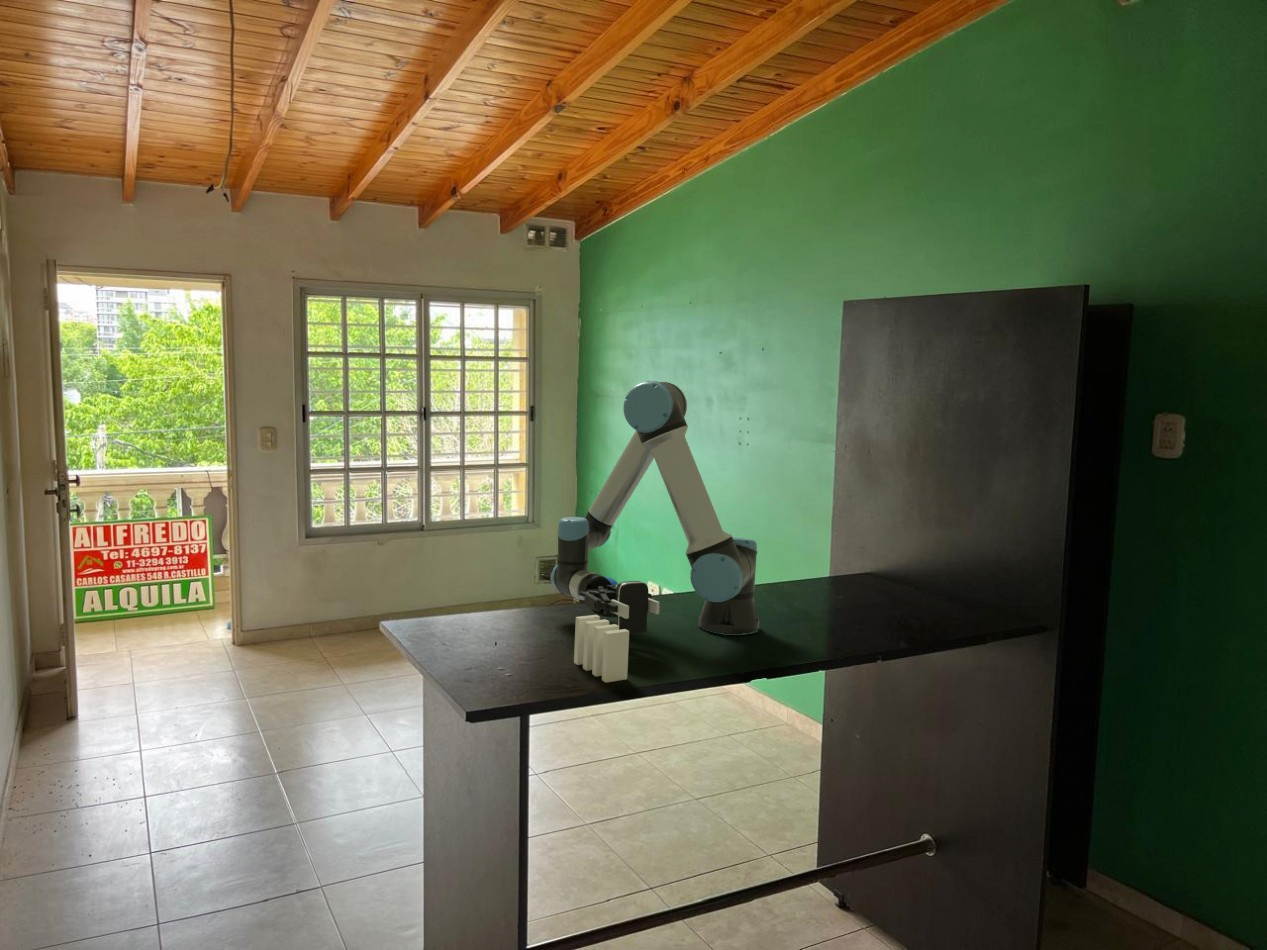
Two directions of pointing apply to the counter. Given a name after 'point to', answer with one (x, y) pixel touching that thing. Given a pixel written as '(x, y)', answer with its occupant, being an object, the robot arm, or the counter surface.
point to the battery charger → (633, 605)
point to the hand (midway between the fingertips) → (642, 610)
